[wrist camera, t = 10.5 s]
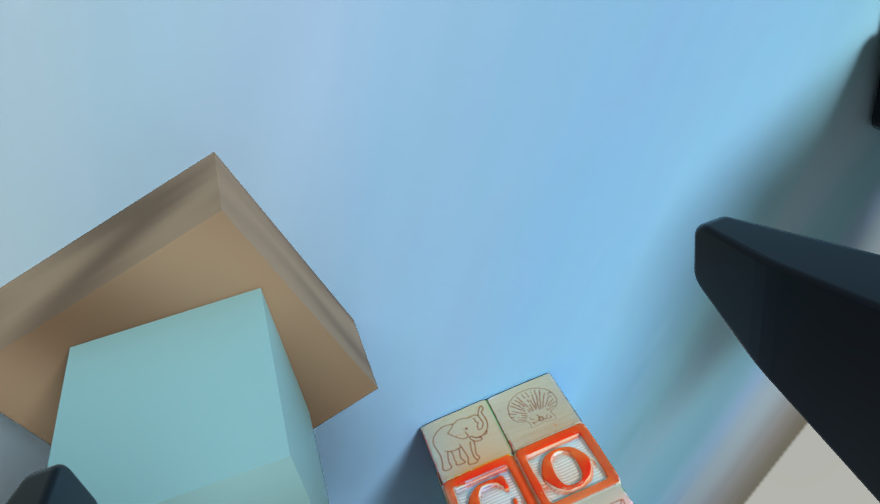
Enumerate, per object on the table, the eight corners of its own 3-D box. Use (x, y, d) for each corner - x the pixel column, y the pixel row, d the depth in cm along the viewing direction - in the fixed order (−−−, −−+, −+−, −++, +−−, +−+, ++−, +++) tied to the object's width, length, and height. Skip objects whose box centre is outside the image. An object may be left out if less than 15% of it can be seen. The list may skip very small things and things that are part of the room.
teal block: (260, 287, 19) (290, 455, 14) (309, 411, 22) (347, 585, 17) (70, 347, 18) (31, 548, 13) (147, 467, 21) (139, 667, 16)
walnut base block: (213, 147, 20) (221, 210, 17) (351, 314, 25) (377, 388, 22) (-14, 291, 21) (-47, 380, 17) (167, 431, 25) (166, 521, 22)
